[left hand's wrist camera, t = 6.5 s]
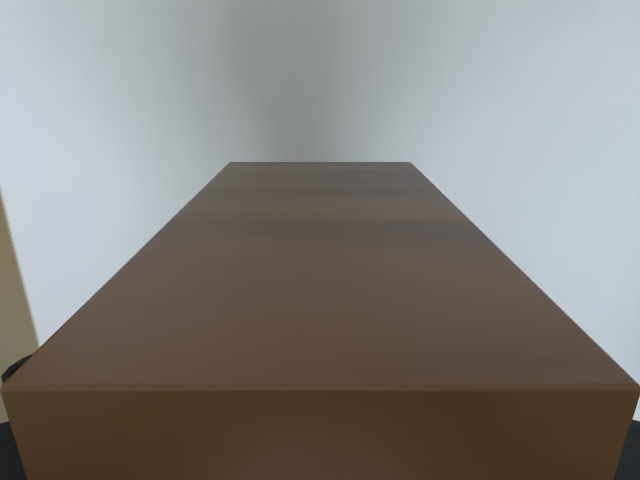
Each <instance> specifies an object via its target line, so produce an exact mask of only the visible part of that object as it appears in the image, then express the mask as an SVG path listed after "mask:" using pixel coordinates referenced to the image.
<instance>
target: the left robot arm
mask: <svg viewBox="0 0 640 480" xmlns="http://www.w3.org/2000/svg"><path fill="white" fill-rule="evenodd" d="M32 355H33V354H32ZM32 355H29V356H27V357H24V358H22V359H21V360H19V361H18V362H16V363H15V364H13V365H12V366H10V367H9V368H8V369H7V370H6V371H5V372H4V374H3V375H2V376H1V377H2V381H3V383H4V382H5V381H6V380H7V379H8V378H9V377H10V376H11V375H12V374H13V373H14V372H15V371H16V370H17V369H18V368H19V367H21V366H22V365H23V364H24V363H25V362H26V361H27V360H28V359H29V358H30V357H31V356H32ZM0 480H27V477H26V474H25V470H24V467H23V464H22V461H21V457H20V454H19V451H18V448H17V444H16V441H15V438H14V435H13V431H12V428H11V425H10V422H5V423H1V424H0ZM614 480H640V421H636V420H632V422H631V425H630V428H629V431H628V435H627V438H626V441H625V444H624V448H623V451H622V454H621V457H620V461H619V464H618V467H617V470H616V474H615V477H614Z"/></svg>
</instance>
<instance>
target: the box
mask: <svg viewBox="0 0 640 480" xmlns="http://www.w3.org/2000/svg"><path fill="white" fill-rule="evenodd" d="M0 392H1V395H2V399H3V402H4V405H5V409H6V412H7V415H8V418H9V422H10V425H11V428H12V431H13V435H14V438H15V441H16V444H17V448H18V451H19V454H20V457H21V461H22V464H23V467H24V470H25V474H26V477H27V480H614V477H615V474H616V470H617V467H618V464H619V461H620V457H621V454H622V451H623V448H624V444H625V441H626V438H627V435H628V431H629V428H630V425H631V422H632V419H633V415H634V412H635V409H636V406H637V402H638V399H639V396H640V386H639V384H638V383H637V382H636V381H635V380H634V379H633V378H632V377H630V376H629V375H628V374H627V373H626V372H625V371H624V370H623V369H622V368H621V367H620V366H619V365H618V364H617V363H616V362H615V361H614V360H613V359H612V358H611V357H610V356H609V355H608V354H607V353H606V352H605V351H604V350H603V349H602V348H601V347H600V346H599V345H598V344H597V343H596V342H595V341H594V340H592V339H591V338H590V337H589V336H588V335H587V334H586V333H585V332H584V331H583V330H582V329H581V328H580V327H579V326H578V325H577V324H576V323H575V322H574V321H573V320H572V319H571V318H570V317H569V316H568V315H567V314H566V313H565V312H564V311H563V310H562V309H561V308H560V307H559V306H558V305H557V304H556V303H555V302H553V301H552V300H551V299H550V298H549V297H548V296H547V295H546V294H545V293H544V292H543V291H542V290H541V289H540V288H539V287H538V286H537V285H536V284H535V283H534V282H533V281H532V280H531V279H530V278H529V277H528V276H527V275H526V274H525V273H524V272H523V271H522V270H521V269H520V268H519V267H518V266H517V265H516V264H514V263H513V262H512V261H511V260H510V259H509V258H508V257H507V256H506V255H505V254H504V253H503V252H502V251H501V250H500V249H499V248H498V247H497V246H496V245H495V244H494V243H493V242H492V241H491V240H490V239H489V238H488V237H487V236H486V235H485V234H484V233H483V232H482V231H481V230H480V229H479V228H478V227H477V226H475V225H474V224H473V223H472V222H471V221H470V220H469V219H468V218H467V217H466V216H465V215H464V214H463V213H462V212H461V211H460V210H459V209H458V208H457V207H456V206H455V205H454V204H453V203H452V202H451V201H450V200H449V199H448V198H447V197H446V196H445V195H444V194H443V193H442V192H441V191H440V190H439V189H438V188H436V187H435V186H434V185H433V184H432V183H431V182H430V181H429V180H428V179H427V178H426V177H425V176H424V175H423V174H422V173H421V172H420V171H419V170H418V169H417V168H416V167H415V166H414V165H413V164H412V163H411V162H230V163H228V164H227V165H226V166H225V167H224V168H223V169H222V170H221V171H220V172H219V173H218V174H217V175H216V176H215V177H214V178H213V179H212V180H211V181H210V182H209V183H208V184H207V185H206V186H205V187H204V188H203V189H202V190H201V191H200V192H199V193H198V194H197V195H196V196H195V197H194V198H193V199H192V200H191V201H190V202H188V203H187V204H186V205H185V206H184V207H183V208H182V209H181V210H180V211H179V212H178V213H177V214H176V215H175V216H174V217H173V218H172V219H171V220H170V221H169V222H168V223H167V224H166V225H165V226H164V227H163V228H162V229H161V230H160V231H159V232H158V233H157V234H156V235H155V236H154V237H153V238H152V239H151V240H150V241H149V242H148V243H146V244H145V245H144V246H143V247H142V248H141V249H140V250H139V251H138V252H137V253H136V254H135V255H134V256H133V257H132V258H131V259H130V260H129V261H128V262H127V263H126V264H125V265H124V266H123V267H122V268H121V269H120V270H119V271H118V272H117V273H116V274H115V275H114V276H113V277H112V278H111V279H110V280H109V281H108V282H107V283H106V284H104V285H103V286H102V287H101V288H100V289H99V290H98V291H97V292H96V293H95V294H94V295H93V296H92V297H91V298H90V299H89V300H88V301H87V302H86V303H85V304H84V305H83V306H82V307H81V308H80V309H79V310H78V311H77V312H76V313H75V314H74V315H73V316H72V317H71V318H70V319H69V320H68V321H67V322H66V323H65V324H64V325H62V326H61V327H60V328H59V329H58V330H57V331H56V332H55V333H54V334H53V335H52V336H51V337H50V338H49V339H48V340H47V341H46V342H45V343H44V344H43V345H42V346H41V347H40V348H39V349H38V350H37V351H36V352H35V353H34V354H33V355H32V356H31V357H30V358H29V359H28V360H27V361H26V362H25V363H24V364H23V365H22V366H21V367H19V368H18V369H17V370H16V371H15V372H14V373H13V374H12V375H11V376H10V377H9V378H8V379H7V380H6V381H5V382H4V383H3V384H2V386H1V389H0Z"/></svg>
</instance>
